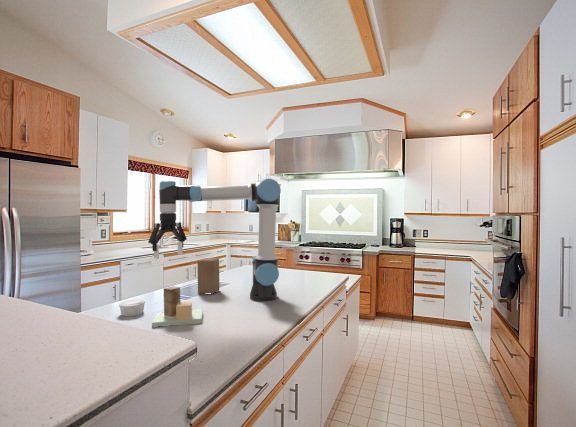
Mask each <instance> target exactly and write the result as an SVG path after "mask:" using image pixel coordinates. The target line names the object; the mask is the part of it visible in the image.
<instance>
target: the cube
mask: <svg viewBox="0 0 576 427" xmlns="http://www.w3.org/2000/svg"><path fill="white" fill-rule="evenodd" d="M192 310H193V301H183V302H181V301H180V302H179V303H177V306H176V320H188V319H191V317H192Z"/></svg>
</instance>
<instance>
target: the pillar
mask: <svg viewBox="0 0 576 427" xmlns="http://www.w3.org/2000/svg"><path fill="white" fill-rule="evenodd" d="M179 302H181V286H175V285H172V286H167V287H164V288H163V312H164V315H166V316H170V317H173V316H176V306H177V303H179Z"/></svg>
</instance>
